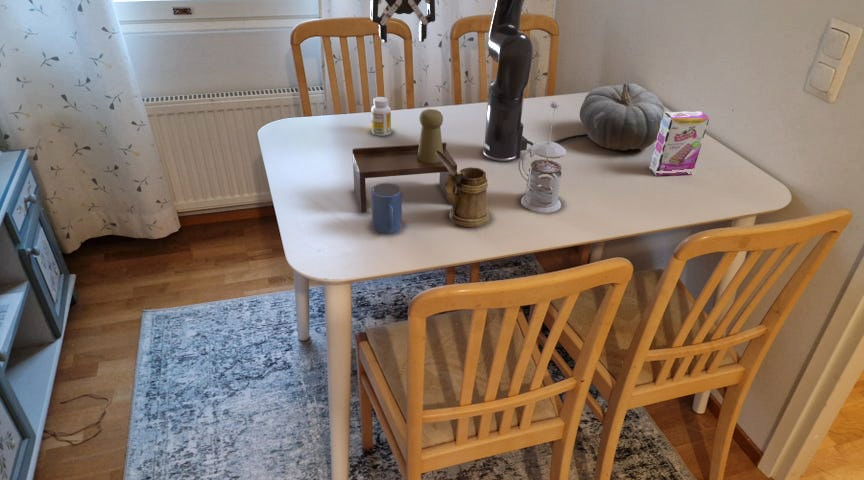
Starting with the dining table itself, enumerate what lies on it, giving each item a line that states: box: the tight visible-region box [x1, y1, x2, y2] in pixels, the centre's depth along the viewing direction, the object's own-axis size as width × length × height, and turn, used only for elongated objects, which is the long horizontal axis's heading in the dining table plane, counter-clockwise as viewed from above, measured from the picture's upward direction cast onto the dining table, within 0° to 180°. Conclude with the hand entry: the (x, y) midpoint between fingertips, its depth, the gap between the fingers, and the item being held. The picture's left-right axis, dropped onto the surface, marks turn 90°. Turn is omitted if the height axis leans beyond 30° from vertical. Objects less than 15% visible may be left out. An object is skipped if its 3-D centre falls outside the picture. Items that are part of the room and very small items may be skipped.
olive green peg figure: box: [417, 108, 444, 163], centre depth 143 cm, size 6×6×11 cm
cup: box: [370, 182, 403, 235], centre depth 135 cm, size 6×8×9 cm
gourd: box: [579, 82, 665, 151], centre depth 183 cm, size 25×25×17 cm
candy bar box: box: [648, 110, 710, 177], centre depth 168 cm, size 11×5×16 cm, turn 104°
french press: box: [518, 101, 567, 214], centre depth 146 cm, size 10×12×25 cm
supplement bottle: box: [370, 96, 392, 137], centre depth 178 cm, size 5×5×10 cm
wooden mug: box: [435, 150, 490, 228], centre depth 138 cm, size 9×14×18 cm, turn 120°
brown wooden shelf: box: [351, 142, 458, 214], centre depth 146 cm, size 22×10×11 cm, turn 108°
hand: (403, 41), depth 144 cm, fingers open, 8 cm apart
